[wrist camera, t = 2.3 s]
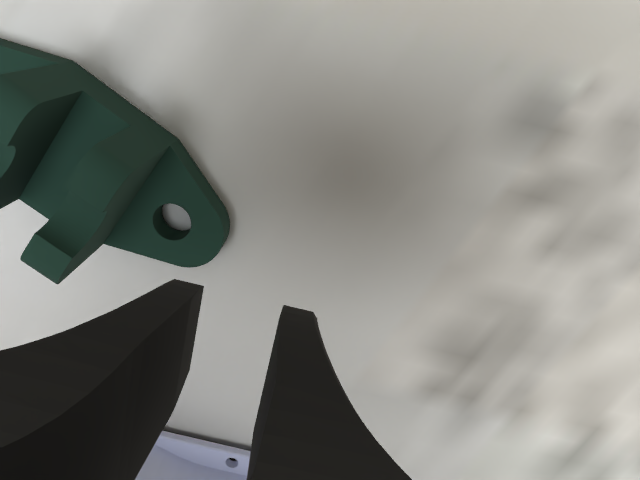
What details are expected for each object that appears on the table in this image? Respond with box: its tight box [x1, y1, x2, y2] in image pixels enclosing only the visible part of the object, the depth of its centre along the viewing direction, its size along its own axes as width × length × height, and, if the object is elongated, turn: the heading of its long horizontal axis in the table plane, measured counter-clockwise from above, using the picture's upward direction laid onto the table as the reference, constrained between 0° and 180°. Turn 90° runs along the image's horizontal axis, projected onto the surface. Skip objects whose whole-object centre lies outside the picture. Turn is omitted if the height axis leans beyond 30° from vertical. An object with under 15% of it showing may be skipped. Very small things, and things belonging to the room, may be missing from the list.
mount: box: [0, 38, 230, 284], centre depth 19 cm, size 11×4×5 cm, turn 53°
